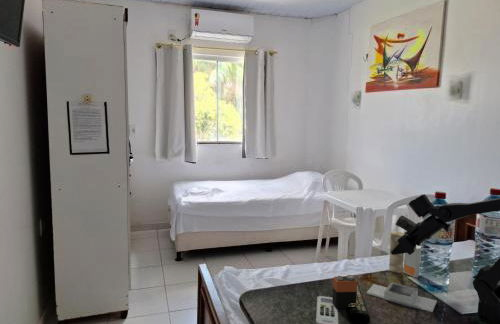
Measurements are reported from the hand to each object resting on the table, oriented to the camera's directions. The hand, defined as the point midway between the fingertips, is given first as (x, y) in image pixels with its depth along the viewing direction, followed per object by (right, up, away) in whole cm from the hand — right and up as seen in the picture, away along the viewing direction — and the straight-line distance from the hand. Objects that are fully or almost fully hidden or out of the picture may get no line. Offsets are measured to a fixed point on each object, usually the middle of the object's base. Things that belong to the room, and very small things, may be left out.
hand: (393, 252), depth 132 cm
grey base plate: (-1, -14, -9) cm, 17 cm away
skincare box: (+13, -12, +12) cm, 21 cm away
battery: (-22, -14, -15) cm, 30 cm away
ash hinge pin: (+1, -7, 0) cm, 7 cm away
